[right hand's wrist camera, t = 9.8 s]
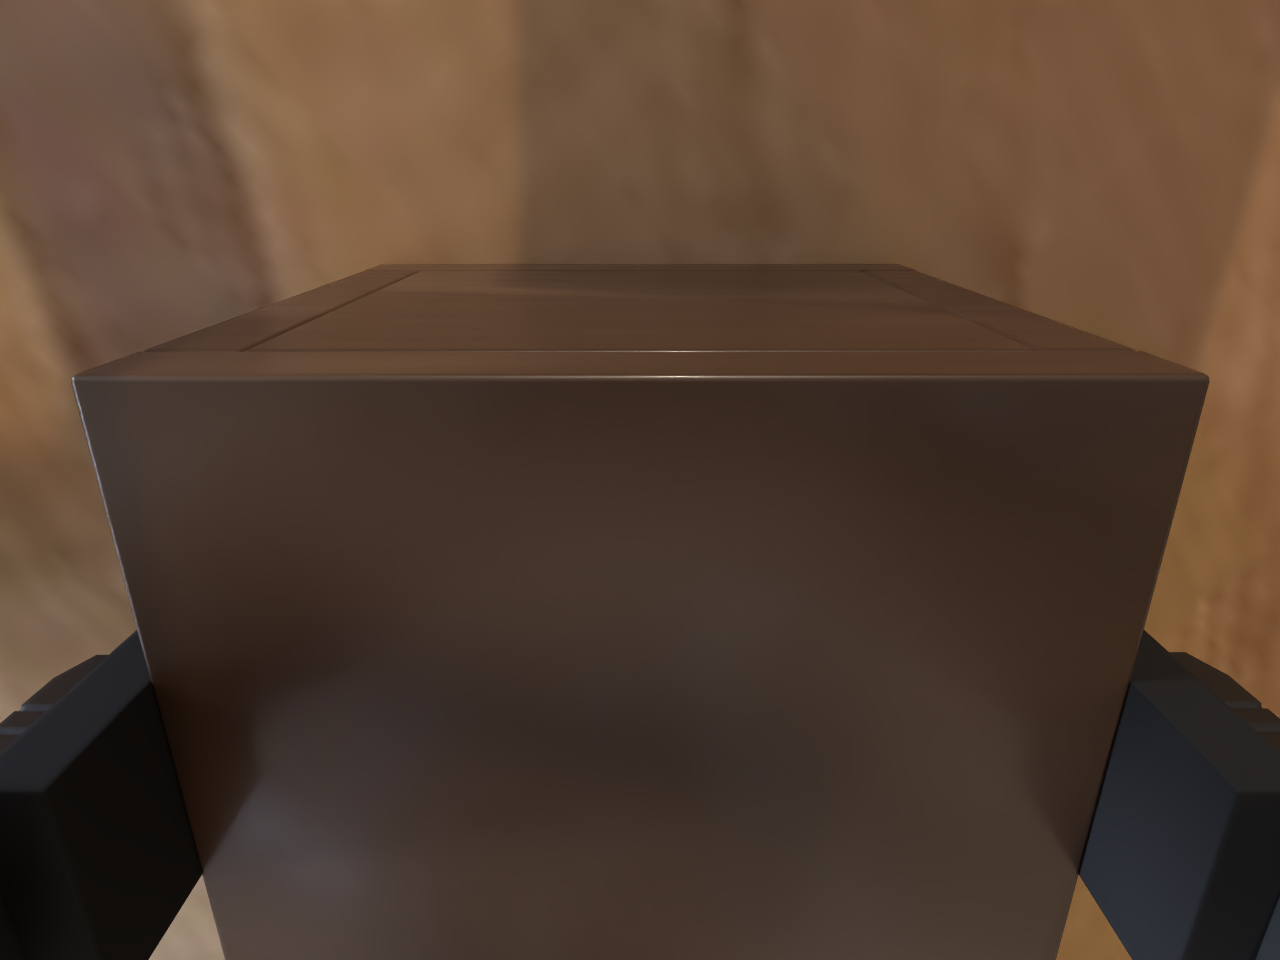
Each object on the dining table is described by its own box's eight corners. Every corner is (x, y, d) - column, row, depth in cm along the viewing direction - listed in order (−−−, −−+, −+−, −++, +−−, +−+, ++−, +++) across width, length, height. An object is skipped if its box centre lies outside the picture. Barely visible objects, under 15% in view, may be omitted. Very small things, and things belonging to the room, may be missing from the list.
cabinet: (814, 1008, 24) (916, 1493, 15) (466, 1009, 24) (365, 1492, 15) (900, 264, 16) (1214, 375, 7) (379, 264, 16) (66, 375, 7)
